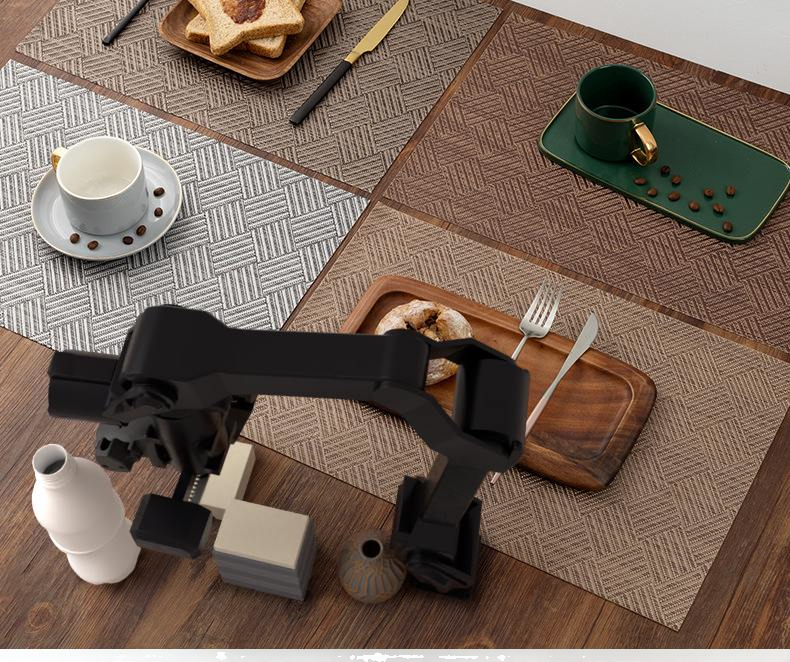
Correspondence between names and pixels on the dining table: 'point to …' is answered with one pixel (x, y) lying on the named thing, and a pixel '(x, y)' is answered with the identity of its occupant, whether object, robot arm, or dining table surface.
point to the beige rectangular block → (229, 479)
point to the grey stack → (271, 570)
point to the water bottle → (83, 515)
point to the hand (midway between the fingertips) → (213, 485)
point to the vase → (370, 567)
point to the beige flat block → (262, 533)
